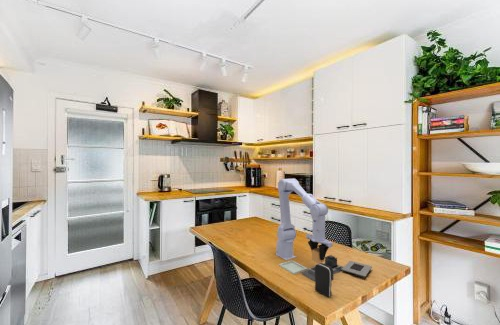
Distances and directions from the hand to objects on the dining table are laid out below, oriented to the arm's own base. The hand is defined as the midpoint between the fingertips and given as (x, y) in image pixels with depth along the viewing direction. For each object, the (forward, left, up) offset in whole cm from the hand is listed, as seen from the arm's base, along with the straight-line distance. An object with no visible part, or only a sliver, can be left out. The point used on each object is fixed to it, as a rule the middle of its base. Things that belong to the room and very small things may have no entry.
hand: (318, 257), depth 111 cm
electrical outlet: (+8, +19, -8) cm, 22 cm away
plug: (0, 0, -1) cm, 1 cm away
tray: (-11, -6, -8) cm, 15 cm away
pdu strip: (0, +4, -8) cm, 9 cm away
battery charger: (+12, -10, -8) cm, 18 cm away
